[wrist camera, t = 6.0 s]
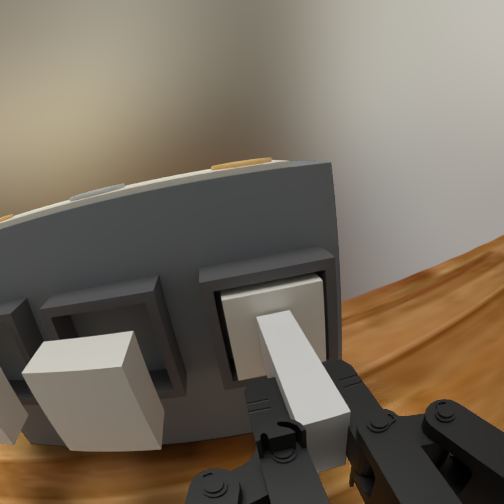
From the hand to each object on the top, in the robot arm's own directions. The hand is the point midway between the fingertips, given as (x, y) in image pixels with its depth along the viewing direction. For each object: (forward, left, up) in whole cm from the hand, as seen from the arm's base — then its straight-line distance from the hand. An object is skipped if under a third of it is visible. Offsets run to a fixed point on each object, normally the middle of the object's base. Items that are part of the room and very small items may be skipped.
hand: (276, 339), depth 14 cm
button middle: (+8, +2, -2) cm, 8 cm away
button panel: (+8, -4, -9) cm, 13 cm away
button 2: (0, -1, -2) cm, 3 cm away
